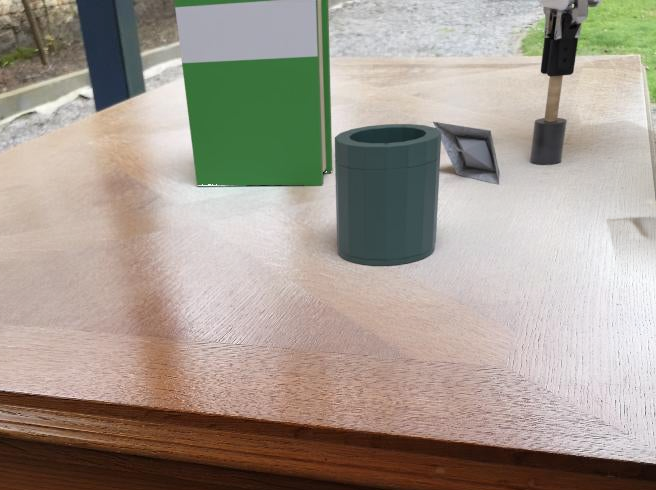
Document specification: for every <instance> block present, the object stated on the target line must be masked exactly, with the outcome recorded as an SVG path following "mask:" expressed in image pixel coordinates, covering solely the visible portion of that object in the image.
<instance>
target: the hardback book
mask: <svg viewBox="0 0 656 490" xmlns="http://www.w3.org/2000/svg"><path fill="white" fill-rule="evenodd" d="M173 2H174V10H175V17H176V27H177V33H178V43H179V49H180V58H181V65H182V66H181V67H182V74H183V84H184V90H185V100H186V108H187V115H188V123H189V124H188V125H189V131H190V132H189V133H190V141H191V148H192V149H191V150H192V157H193V164H194V173H195V179H196V180H195V181H196V186H197V185H202V184H203V185H208V184H211V185H212V184H213V185H216V184H217V185H238V186H237V187H247V186H246V185H304V186H303V187H313V185H314V187H318V186H319V185H322V184H323V185H324V173H323V172H326V171H327V172H331V171H332V172H333V139H332V138H333V137H332V135H333V134H332V103H331V102H332V99H331V96H332V95H331V57H330V56H331V55H330V52H331V51H330V20H329V19H330V18H329V17H330V16H329V15H330V14H329V0H173ZM240 185H241V186H240ZM316 185H318V186H316ZM323 185H322V186H323ZM319 187H320V186H319Z"/></svg>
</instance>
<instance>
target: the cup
mask: <svg viewBox="0 0 656 490" xmlns="http://www.w3.org/2000/svg"><path fill="white" fill-rule="evenodd" d="M441 148H442V141H441V132H440V131H439V130H438V129H437V128H435V126H428V125H425V124H414V123H413V124H412V123H389V124H388V123H387V124H375V125H367V126H361V127H356V128H351V129H349V130H345V131H341V132H339V133H338V134H337V135H336V136H335V137H334V166H335V167H334V171H335V173H334V174H335V175H334V176H335V211H336V212H335V213H336V215H335V216H336V218H335V219H336V245H337V254H338V256H339V257H341V258H342V259H344V260H346V261H348V262H351V263H353V264H359V265H364V266H380V267H381V266H399V265H405V264H410V263H415V262H417V261H420V260H424V259H425V258H427V257H429V256H431V255H432V254H433V253H434V251H435V249H436V243H437V229H438V228H437V227H438V207H439V187H440V171H441V170H440V169H441V150H442V149H441Z"/></svg>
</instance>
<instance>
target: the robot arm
mask: <svg viewBox="0 0 656 490" xmlns="http://www.w3.org/2000/svg"><path fill="white" fill-rule="evenodd" d="M537 1H538V3H539V4H540V5H541V6H542V7H543V9H542V10H543V11H542V12H543V15H544V16H545V17H544V19H545V21H544V31H543V34H544V35H543V36H544V37H543V46H542V55H541V65H540V73H541V74H543V75H547V76H548V77H549V78H550V77H552V76H563V77H564V76H571V75H573V73H574V71H575V63H576V57H577V50H578V42H579V38H580V35H581V29H582V23H583V22H584V21H585V20H587V19H588V15H589V8H596V7H598V6H600V5H601V3H602V2H603V0H537ZM554 38H555V39H554Z"/></svg>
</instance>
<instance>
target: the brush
mask: <svg viewBox="0 0 656 490" xmlns="http://www.w3.org/2000/svg"><path fill="white" fill-rule="evenodd" d="M554 39H555V38H554ZM548 78H549V80H548V86H547V95H546V103H545V111H544V117H543V118H538V119H535V120H534V123H533V124H534V125H533V134H532V140H531V150H530V158H529V161H530V163H531V164H534V165H541V166H542V165H543V166H544V165H546V164H550V165H555V164H554V163H556V164H558V163H557V162H559V163H561V162H562V158H563V149H564V142H565V136H566V135H565V134H566V128H567V121H568V120H567V119H565V118H562V117H558V116H559V108H560V102H561V101H560V100H561V93H562V86H563V78H564V75H563V76H552V77H550V76H549V77H548ZM560 161H561V162H560ZM546 166H547V165H546Z"/></svg>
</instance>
